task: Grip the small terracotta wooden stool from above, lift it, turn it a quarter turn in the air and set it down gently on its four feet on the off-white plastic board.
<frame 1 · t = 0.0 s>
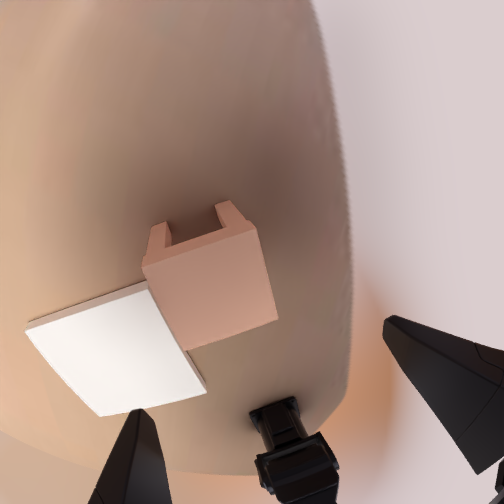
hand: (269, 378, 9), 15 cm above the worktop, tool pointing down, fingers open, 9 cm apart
white board: (117, 358, 24), on the worktop
stool: (202, 248, 22), on the worktop
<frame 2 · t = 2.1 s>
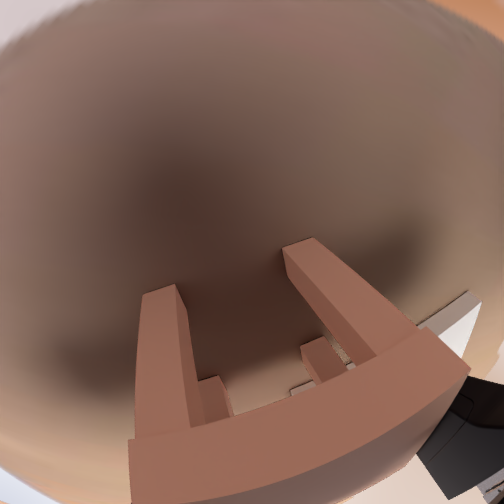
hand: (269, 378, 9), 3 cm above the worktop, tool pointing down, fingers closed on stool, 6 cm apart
white board: (385, 396, 17), on the worktop
stool: (249, 331, 11), on the worktop, touching gripper
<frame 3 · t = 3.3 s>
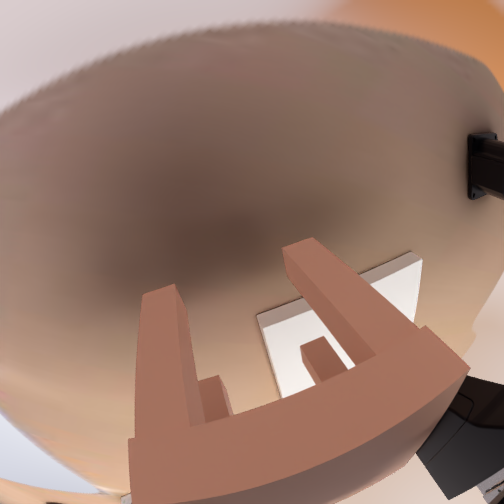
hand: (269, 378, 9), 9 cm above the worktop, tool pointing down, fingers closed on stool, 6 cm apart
white board: (346, 343, 23), on the worktop
stool: (249, 331, 11), point 7 cm above the worktop, touching gripper
syrup box: (140, 496, 31), on the worktop
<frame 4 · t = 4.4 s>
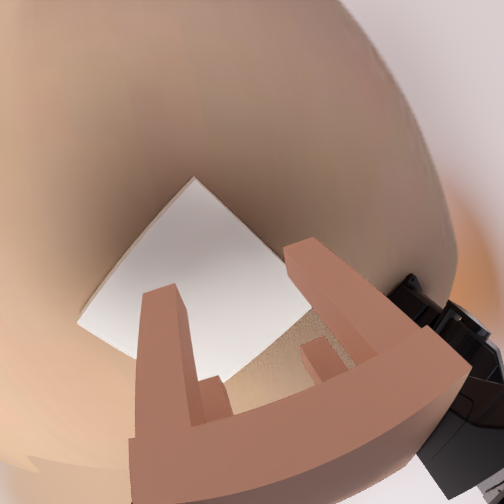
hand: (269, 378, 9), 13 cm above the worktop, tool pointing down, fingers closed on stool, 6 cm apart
white board: (198, 304, 22), on the worktop
stool: (249, 331, 11), point 10 cm above the worktop, touching gripper
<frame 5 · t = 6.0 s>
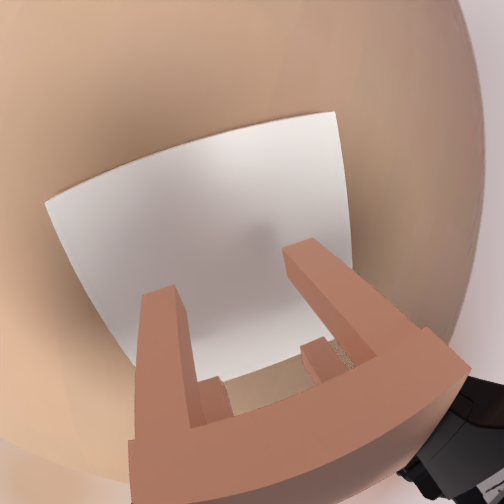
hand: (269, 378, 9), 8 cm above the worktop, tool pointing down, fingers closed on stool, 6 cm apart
white board: (224, 270, 15), on the worktop
stool: (249, 332, 11), point 5 cm above the worktop, touching gripper
when the fingers open (5 cm above the worktop, at t = 7.1 s): stool stays where it is, resting on white board.
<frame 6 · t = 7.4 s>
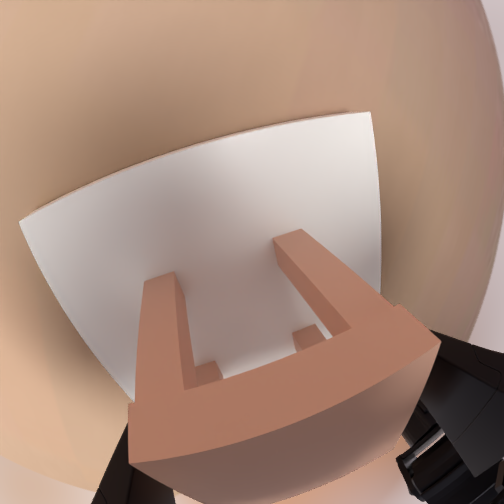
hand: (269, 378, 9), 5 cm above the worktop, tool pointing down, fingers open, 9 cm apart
white board: (235, 297, 13), on the worktop
stool: (243, 317, 12), point 1 cm above the worktop, touching white board
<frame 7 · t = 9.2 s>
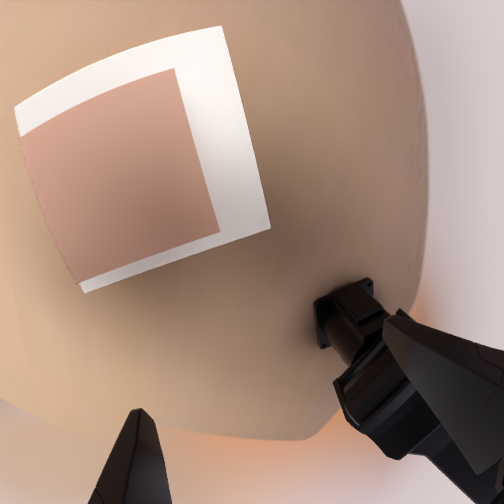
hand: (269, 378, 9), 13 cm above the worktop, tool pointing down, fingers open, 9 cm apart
white board: (138, 158, 16), on the worktop
stool: (135, 161, 15), point 1 cm above the worktop, touching white board
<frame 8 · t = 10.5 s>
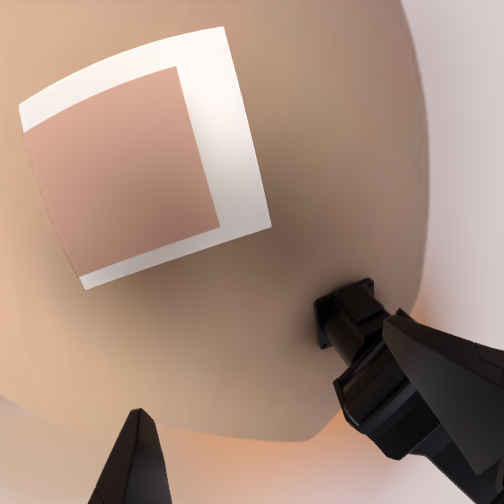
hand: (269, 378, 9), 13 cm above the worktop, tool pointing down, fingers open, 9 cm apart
white board: (140, 156, 16), on the worktop
stool: (138, 159, 15), point 1 cm above the worktop, touching white board
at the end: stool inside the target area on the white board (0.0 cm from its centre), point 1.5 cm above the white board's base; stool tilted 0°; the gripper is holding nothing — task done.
